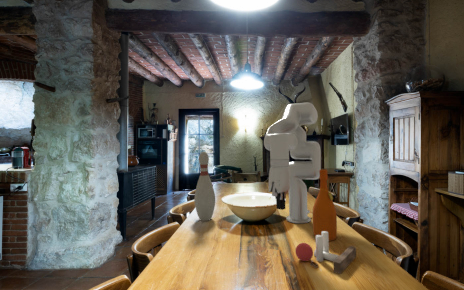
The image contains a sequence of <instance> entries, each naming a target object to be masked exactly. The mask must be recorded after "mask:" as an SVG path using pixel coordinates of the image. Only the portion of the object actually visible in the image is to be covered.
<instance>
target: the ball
mask: <svg viewBox="0 0 464 290" xmlns="http://www.w3.org/2000/svg"><path fill="white" fill-rule="evenodd" d="M295 255H296V257H297V259H299V260H300V261H303V262H308V261H311V259H312V258H313V256H314V250H313V248H312V246H311V245H310V244H309V243H307V242H301V243H299V244H297V246H296V248H295Z"/></svg>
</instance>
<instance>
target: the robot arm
mask: <svg viewBox="0 0 464 290" xmlns="http://www.w3.org/2000/svg"><path fill="white" fill-rule="evenodd" d="M318 115H319V114H318V111H317V109H316V107H315V106H314V104H313V103H312V102H308V101H307V102H297V103H290V104H287V106H285V108H284V110H283V114H282V115H281V116H282V117H281V119H279V120H278V121H276V122H275V123H273V124H272V125H270V126H269V127H268V128H267V130H266V133H265V135H264V139H263V146H264V147H265V149H266V150H267V151H269V153H270V154H269V157H270V158H269V159H270V160H269V161H270V162H269V163H270V167H269V171H268V192H270V193H271V196H272V197H275V201H276V203H275V204H276V209H277V210H282V211H283V210H285V209H286V198H287V194H288V211H289V212H288V216H286V221H287V222H289V223H293V224H307V223H310V222H311V221H312V220H311V217H310V216H308V214H311V213H310V212H311V211H310V209H308V188H307V184H306V183H305V182H304V181H303V180H320V179H319V177H320V173H319V170H320V169H322V168H321V167H322V165H321V164H322V161H321V160H322V157H321V155H322V151H321V146H320V144H319V142H317V141H312V140H311V141H307V132H306V131H305V130H304V129H303V127H302V126H301V125H313V124H316V123H317V121H318V118H319V117H318ZM290 157H291V158H292V159H294V160H295V161H290ZM305 160H306V161H305ZM307 160H309V161H307Z"/></svg>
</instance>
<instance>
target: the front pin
mask: <svg viewBox="0 0 464 290" xmlns="http://www.w3.org/2000/svg"><path fill="white" fill-rule="evenodd" d="M313 256H314V257H316V248H315V249H314V250H313ZM339 256H340V255H339V254H335V253H331V252H329V253H328V252H324V251H323V260H328V261H331V262H334V260H336V259H337V258H338V257H339Z"/></svg>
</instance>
